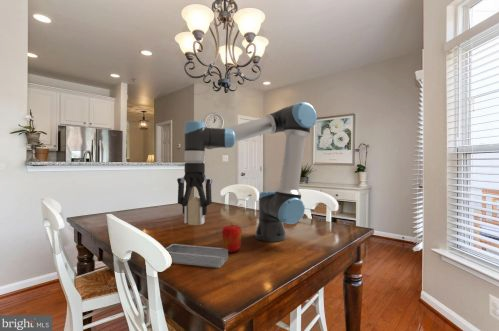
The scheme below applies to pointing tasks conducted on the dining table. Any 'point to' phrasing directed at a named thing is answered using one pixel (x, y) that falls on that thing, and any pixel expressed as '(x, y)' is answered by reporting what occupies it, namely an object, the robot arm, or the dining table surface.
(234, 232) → the apple
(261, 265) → the dining table surface
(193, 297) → the dining table surface
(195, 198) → the candle
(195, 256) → the gray tray
